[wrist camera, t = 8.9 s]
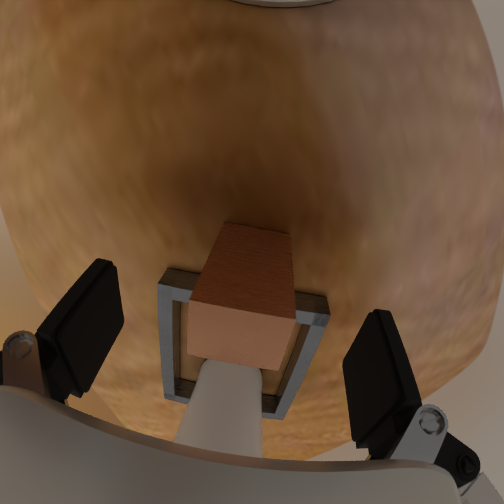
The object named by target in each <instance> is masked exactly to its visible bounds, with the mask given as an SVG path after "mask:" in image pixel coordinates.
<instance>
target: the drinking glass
mask: <svg viewBox="0 0 504 504" xmlns="http://www.w3.org/2000/svg"><path fill="white" fill-rule="evenodd" d="M262 380H263V378H262V373H261V371H260V369H259V368H256V367H250V366H244V365H238V364H232V363H227V362H222V361H217V360H212V359H207V360H206V361H205V362H204V363H203V364H202V366H201V368H200V371H199V375H198V378H197V382H196V385H195V387H194V390H193V392H192V395H191V397H190V400H189V403H188V405H187V408H186V410H185V413H184V415H183V418H182V420H181V423H180V425H179V428H178V430H177V433H176V435H175V438H174V440H173V442H174V443H178V444H183V445H187V446H191V447H196V448H201V449H206V450H211V451H217V452H222V453H228V454H235V455H242V456H250V457H259V458H263V440H262Z"/></svg>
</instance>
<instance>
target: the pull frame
mask: <svg viewBox="0 0 504 504" xmlns="http://www.w3.org/2000/svg"><path fill="white" fill-rule="evenodd" d="M180 301H181V302H186V303H189V309H188V335H187V354H188V355H193V356H197V357H202V358H207V359H212V360H217V361H222V362H227V363H232V364H238V365H244V366H250V367H256V368H262V369H269V370H276V371H279V368H280V366H281V363H282V360H283V357H284V354H285V351H286V349H287V346H288V343H289V340H290V337H291V334H292V331H293V328H294V325H295V323H301V324H303V325H302V328H301V331H300V333H299V336H298V339H297V342H296V345H295V347H294V350H293V353H292V355H291V358H290V361H289V363H288V366H287V368H286V371H285V374H284V376H283V379H282V381H281V384H280V386H279V389H278V391H277V394H276V396H275V397H274V396H267V395H262V418H268V419H277V420H283V419H284V417H285V415H286V413H287V411H288V409H289V407H290V405H291V403H292V401H293V399H294V397H295V395H296V393H297V391H298V389H299V387H300V385H301V382H302V380H303V378H304V376H305V374H306V372H307V369H308V367H309V365H310V363H311V361H312V358H313V356H314V354H315V352H316V349H317V347H318V345H319V342H320V340H321V338H322V335H323V333H324V330H325V328H326V325H327V323H328V321H329V318H330V316H331V315H330V310H329V306H328V301H327V297H323V296H316V295H310V294H304V293H298V292H294V278H293V265H292V253H291V241H290V234H286V233H281V232H276V231H270V230H265V229H259V228H254V227H248V226H243V225H237V224H232V223H226V222H224V224H223V227H222V229H221V231H220V233H219V235H218V237H217V239H216V241H215V244H214V246H213V248H212V250H211V252H210V254H209V257H208V259H207V261H206V263H205V265H204V267H203V270H202V272H201V274H195V273H190V272H185V271H180V270H175V269H170V268H167V270H166V271H165V273H164V274H163V276H162V277H161V279H160V281H159V282H158V318H159V338H160V353H161V367H162V378H163V388H164V398H165V399H169V400H172V401H176V402H180V403H185V404H188V403H189V400H190V397H191V395H192V392H193V390H194V387H195V385H196V383H194V382H190V381H186V380H181V379H180Z"/></svg>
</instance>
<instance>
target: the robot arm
mask: <svg viewBox="0 0 504 504" xmlns="http://www.w3.org/2000/svg"><path fill="white" fill-rule="evenodd" d="M234 1H238V2H241V3H245V4H253V5H260V6H270V7H296V6H310V5H315V4H320V3H326V2H330V1H333V0H234ZM123 324H124V315H123V309H122V303H121V296H120V290H119V282H118V274H117V268H116V266H113V263H112V261H109V260H105V259H100V258H97V259H96V260H95V261H94V262H93V263H92V264H91V265H90V266H89V268H88V269H87V270H86V271H85V272H84V273H83V274H82V275H81V277H80V278H79V279H78V280H77V281H76V282H75V283H74V285H73V286H72V287H71V288H70V289H69V290H68V292H67V293H66V294H65V295H64V296H63V298H62V299H61V300H60V301H59V302H58V304H57V305H56V306H55V307H54V309H53V310H52V311H51V312H50V314H49V315H48V316H47V317H46V319H45V320H44V321H43V323H42V324H41V325H40V327H39V328H38V329H37V332H36V333H35V335H34V334H32V333H31V332H29V331H24V330H23V331H17V332H14V333H13V334H11V335H10V336H9V337H8V338H7V339H6V340H5V342H4V344H3V349H2V351H0V504H504V501H503V499H502V497H501V496H500V494H499V493H498V492H497V490H496V489H495V487H494V486H493V485H492V483H491V482H490V480H489V479H488V478H487V476H486V475H485V474H484V472H482V473H479V471H480V460H479V457H478V456H477V454H476V453H475V452H474V451H473V450H471V449H470V448H469V447H467V446H466V445H465V444H463V443H462V442H460V441H459V440H458V439H456V438H455V437H454V436H452V435H451V434H450V433H448V432H447V429H448V420H447V417H446V415H445V414H444V412H443V411H442V410H441V409H440V408H439V407H437V406H435V405H430V404H426V405H423V406H422V402H421V397H420V394H419V390H418V387H417V384H416V381H415V378H414V375H413V372H412V369H411V366H410V363H409V360H408V357H407V354H406V351H405V348H404V346H403V343H402V340H401V337H400V335H399V332H398V330H397V327H396V324H395V322H394V319H393V317H392V314H391V312H390V311H388V310H380V309H375V310H373V312H370V313H369V314H368V315H367V317H366V319H365V321H364V323H363V325H362V327H361V329H360V330H359V332H358V334H357V336H356V338H355V340H354V342H353V343H352V345H351V347H350V349H349V351H348V352H347V354H346V356H345V358H344V360H343V365H342V367H343V374H344V381H345V388H346V395H347V402H348V410H349V418H350V427H351V436H352V440H353V441H354V442H356V448H358V449H359V448H368V450H369V455H368V457H367V458H366V460H365V461H295V460H280V459H268V458H259V457H250V456H242V455H235V454H228V453H222V452H217V451H211V450H206V449H201V448H196V447H191V446H187V445H183V444H178V443H174V442H170V441H166V440H163V439H159V438H155V437H152V436H148V435H145V434H142V433H138V432H135V431H132V430H129V429H126V428H123V427H120V426H117V425H114V424H112V423H109V422H106V421H103V420H101V419H98V418H96V417H93V416H91V415H88V414H85V413H83V412H81V411H78V410H76V409H73V408H71V407H69V405H68V401H67V398H68V396H69V394H72V395H74V396H76V397H79V398H81V397H82V395H83V393H84V392H85V393H86V392H88V391H89V389H90V387H91V385H92V383H93V381H94V379H95V377H96V375H97V373H98V371H99V370H100V368H101V366H102V364H103V362H104V360H105V358H106V356H107V354H108V353H109V351H110V349H111V347H112V345H113V343H114V342H115V340H116V338H117V336H118V334H119V333H120V331H121V329H122V327H123Z"/></svg>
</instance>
